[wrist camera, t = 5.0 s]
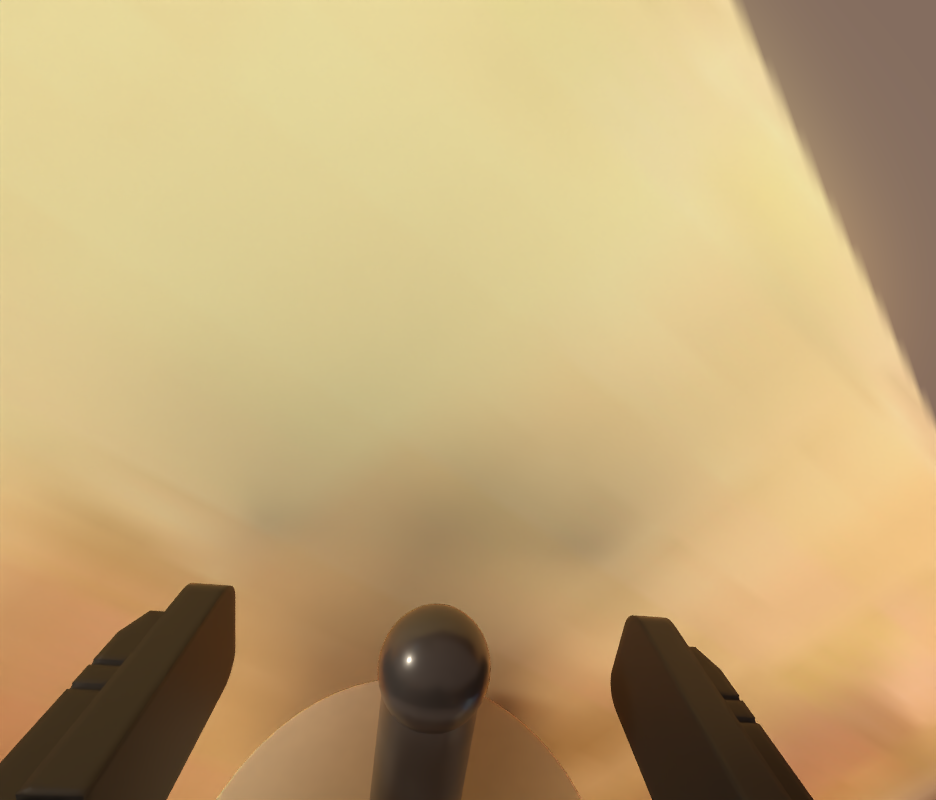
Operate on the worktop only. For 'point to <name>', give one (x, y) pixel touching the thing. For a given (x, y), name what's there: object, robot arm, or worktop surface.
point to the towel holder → (408, 731)
